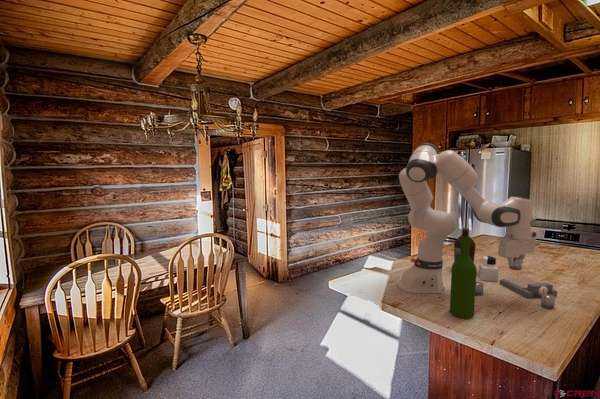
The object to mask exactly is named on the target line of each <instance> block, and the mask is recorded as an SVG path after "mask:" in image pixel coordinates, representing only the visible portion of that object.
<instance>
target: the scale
mask: <svg viewBox="0 0 600 399" xmlns="http://www.w3.org/2000/svg"><path fill="white" fill-rule="evenodd" d="M499 285H500V286H502V287H504V288H506V289H508V290H511V291H513V292H514V293H515V294H518V295H520V296H521V297H524V298H526V299H539V298H542V294H551V295H553V296H555V297H557V296H558V290H555V289H554V287H553V286H554V285H553V284H551V283H549V282H539V283H536V284H528V289H521V288H519V287H517V286H515V285H512V284H510V283H508V282H506V281H504V280H503V278H502V279H499Z"/></svg>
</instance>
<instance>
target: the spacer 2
mask: <svg viewBox="0 0 600 399" xmlns="http://www.w3.org/2000/svg"><path fill="white" fill-rule="evenodd" d="M513 262H515V263H514V266H510V265H508V269H510V270H514V271H521V270H522V265H523V263H522V258H521V257H519V256H518V255H517V256H514V258H513Z"/></svg>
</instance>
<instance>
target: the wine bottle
mask: <svg viewBox="0 0 600 399" xmlns="http://www.w3.org/2000/svg"><path fill="white" fill-rule="evenodd" d="M469 236H470V235H469ZM469 236H462V240H461V253H460V256H459V257H458V258H457V259H456V260H455V262H453V263H452V266H451V278H450V280H451V281H450V294H449V296H450V298H449V299H450V300H449V313H450V314H451V315H452V316H453V317H455V318H459V319H465V320H469V319H473V318H474V316H475V305H476V304H475V303H476V295H475V289H476V282H477V270H478V269H477V266H476V264H475V263H473V261H472V259H471V258H470V256H469V248H470V237H471V236H470V237H469Z"/></svg>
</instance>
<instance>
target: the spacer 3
mask: <svg viewBox="0 0 600 399" xmlns="http://www.w3.org/2000/svg"><path fill="white" fill-rule="evenodd" d="M555 303H556V296H553V295H551V294H542V297H541V301H540V306H541V307H542V308H544V309H547V310H554V309H555V305H556V304H555Z"/></svg>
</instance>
